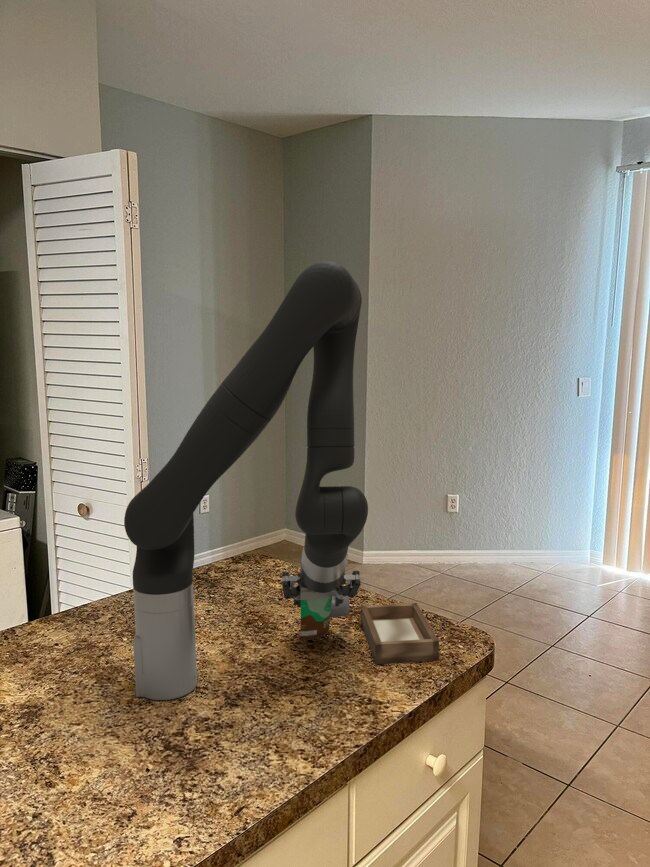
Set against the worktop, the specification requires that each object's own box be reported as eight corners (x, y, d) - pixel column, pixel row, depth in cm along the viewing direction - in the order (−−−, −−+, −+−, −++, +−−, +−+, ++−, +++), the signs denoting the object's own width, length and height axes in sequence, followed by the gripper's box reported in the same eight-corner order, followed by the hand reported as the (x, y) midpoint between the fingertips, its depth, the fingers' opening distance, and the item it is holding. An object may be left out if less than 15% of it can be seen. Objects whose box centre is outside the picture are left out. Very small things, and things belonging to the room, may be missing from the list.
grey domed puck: (321, 618, 138) (321, 604, 138) (318, 606, 144) (318, 593, 144) (351, 617, 139) (351, 602, 138) (347, 605, 145) (347, 591, 144)
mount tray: (375, 664, 119) (375, 644, 118) (361, 623, 135) (361, 605, 135) (438, 660, 120) (439, 641, 119) (416, 620, 136) (416, 603, 136)
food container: (334, 644, 121) (336, 589, 120) (299, 643, 122) (300, 588, 120) (335, 616, 134) (336, 566, 132) (304, 615, 134) (304, 565, 132)
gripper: (364, 540, 118) (354, 582, 132) (280, 541, 117) (278, 584, 130) (368, 581, 114) (357, 620, 127) (281, 582, 112) (279, 622, 126)
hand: (317, 602), depth 129 cm, fingers closed on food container, 6 cm apart
